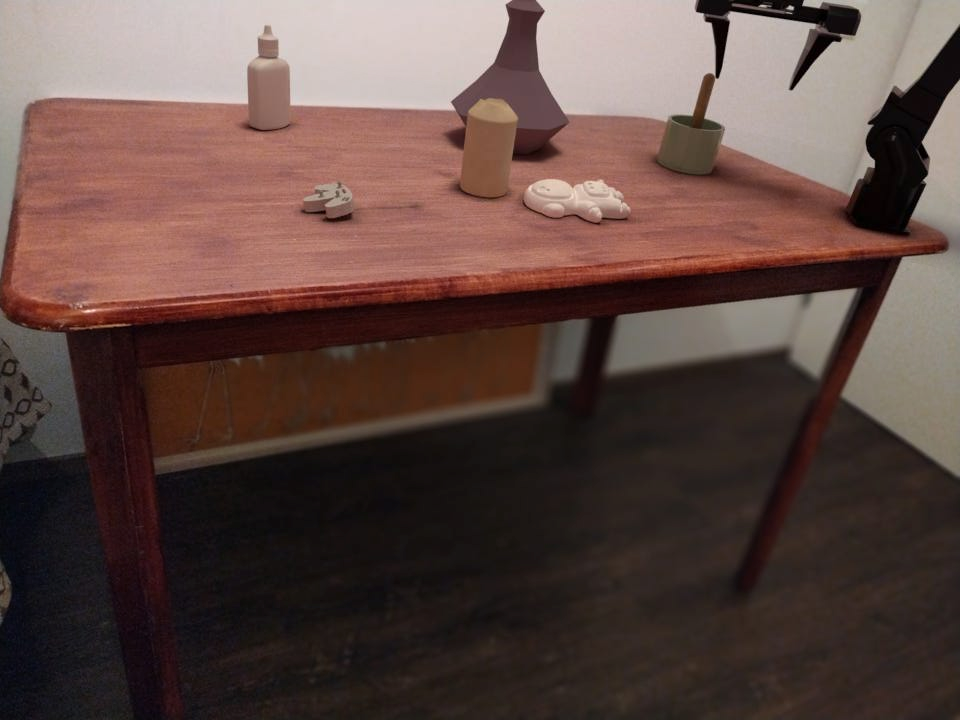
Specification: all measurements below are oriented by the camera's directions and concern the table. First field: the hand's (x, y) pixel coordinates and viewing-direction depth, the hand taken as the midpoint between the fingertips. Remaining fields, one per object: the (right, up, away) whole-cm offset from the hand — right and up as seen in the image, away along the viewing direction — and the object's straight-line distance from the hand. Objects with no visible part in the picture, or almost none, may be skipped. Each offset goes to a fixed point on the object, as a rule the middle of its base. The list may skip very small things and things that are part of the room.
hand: (753, 84), depth 94 cm
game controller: (-47, -20, -18) cm, 54 cm away
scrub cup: (-6, -8, +11) cm, 14 cm away
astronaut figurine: (-24, -18, -10) cm, 31 cm away
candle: (-34, -16, -9) cm, 39 cm away
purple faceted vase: (-31, -5, +8) cm, 33 cm away
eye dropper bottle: (-62, -5, +1) cm, 62 cm away
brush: (-6, -7, +10) cm, 14 cm away
